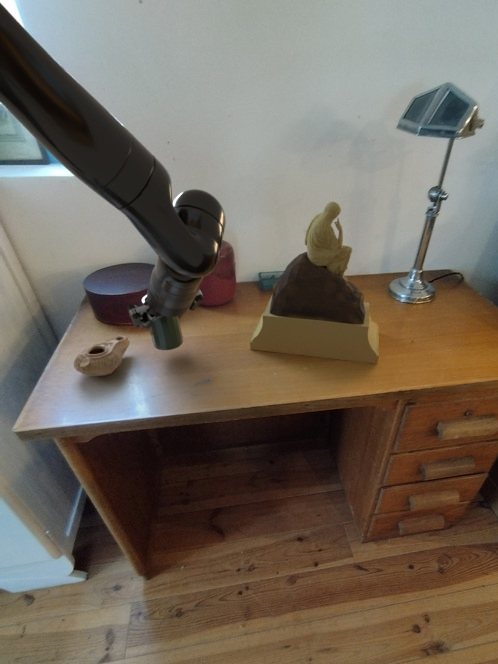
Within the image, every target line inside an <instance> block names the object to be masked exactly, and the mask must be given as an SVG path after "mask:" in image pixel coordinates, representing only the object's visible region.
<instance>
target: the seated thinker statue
mask: <svg viewBox="0 0 498 664" xmlns="http://www.w3.org/2000/svg"><path fill="white" fill-rule="evenodd" d="M341 211H342V208H341V206H340V204H339V203H338V202H336V201H331V202H328V203H327V204H326V205H325V206H324V208H323V211H322V212H319V213H318V214H316V215H313V217H312V219H311V220H310V222H309V224H308V226H307V229H306V232H305V236H304V246H306V251H305V252H302V253H299V254H298V255H297V256H296V257H294V258H292V260H291V261H290V262H289V263H288V264H287V265H286V267H285V269H284V271H283V272H282V274H281V275H280V276H279V277H278V278H277V279H276V280H275V281H274V282H273V284H272V293H271V297H270V299H269V301H268V303H267V305H266V307H265V310H264V311H263V313H262V314H261V316H260V318H259V321H258V323H257V325H256V327H255V330H254V332H253V333H252V336H251V338H250V340H249V349H250V350H251V351H253V350H254V351H260V352H271V353H279V354H288V355H296V356H306V357H314V358H322V359H330V360H339V361H340V360H341V361H349V362H356V363H357V362H358V363H367V364H376V365H378V362H379V357H380V333H379V332H380V329H379V328H380V326H379V325H380V324H377V323H376V322H375V321H373V320H372V318H371V316H370V303H371V302H369V301H368V302H367V301H364V300H365V295H364V293H363V291H362V290H361V289H360V288H359V287H358V285H357V286H356V285H355V284H354V283H353V282H352V281H350V279H349V278H348V277H347V276H346V275H345V273H346V271H347V270H348V266H349V263H350V259H351V257H352V253H353V247H351V246H350V245H343V242H344V233H343V227H342V225H341V222H340V220H339V219H340V218H339V217H338V216H339V215H340V214H341ZM336 218H337V221H335V222H334V220H335V219H336ZM332 223H333V224H334V225H335V227H336V229H337V230H338V235H337V236H336V233H335V230H334V229H335V228H333V226H332Z"/></svg>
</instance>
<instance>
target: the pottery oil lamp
mask: <svg viewBox="0 0 498 664" xmlns="http://www.w3.org/2000/svg"><path fill="white" fill-rule="evenodd" d="M130 342H131V341H130V340H129V338H128V337H127V335H117V336H114V337H112V338H110V339H107V340H105V341H102V342H99V343H95V344H93V345H91V346H90V347H87V348H85V349H83V350H82V351H80V353H78V355H77V356H76V357H75V359H74V361H73V368H74V369H75V371H77V372H79V373H80V374H83V375H85V376H95V377H105V376H109V375H111V374H112V373H114V372H115V371H116V369H118V367H119V366H121V364H122V362H123V357H124V355H125V353H126V351H127V350H128V348H129V347H130V344H131V343H130Z"/></svg>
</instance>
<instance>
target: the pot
mask: <svg viewBox="0 0 498 664" xmlns="http://www.w3.org/2000/svg"><path fill="white" fill-rule="evenodd" d="M146 300H147V294H145V295H144V296H143V297H142V298H141V304H142V306H143V305H144V302H145V301H146ZM146 315H147V314H146ZM155 316H156V315H155ZM181 327H182V326H181V323H180V319H179V318H178V316H177V317H168V316H164V317H162V318H161V319H159V320H158V321H157V322H151V323H150V327H149V329H148V330H149V333H150V338H151V341H152V344H153V347H154V348H155V349H157V350H159V351H171V350H175V349H177V348H179V347H181V346H182V345H183V343H184V338H183V333H182V328H181Z"/></svg>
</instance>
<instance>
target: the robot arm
mask: <svg viewBox="0 0 498 664" xmlns="http://www.w3.org/2000/svg"><path fill="white" fill-rule="evenodd" d="M0 104H1V105H2V106H3V107H4V108H5V109H6V110H7V111H8V112H9V113H10V114H11V115H12V116H13V117H14V118H15V119H16V120H17V121H18V122H19V123H20V124H21V125H22V126H23V127H24V128H25V129H26V130H27V131H28V132H29V134H30V135H32V137H33V138H35V139H36V140H37V142H39V144H40V145H41V146H42V147H43V148H44V149H45V150H46V151H47V152H48V153H49V154H50V155H51V156H52V157H53V158H55V159H56V161H58V163H60V165H62V166H63V167H64V168H65V169H66V170H67V171H69V172H70V173H71V174H72V175H73V176H74V177H75V178H77V179H78V180H79V181H80V182H82V183H83V184H84V185H86V186H87V187H88V188H89V189H90V190H92V191H93V192H94V193H95V194H97V195H98V196H99V197H101V198H102V199H103V200H104V201H106V202H107V203H108V204H110V205H111V206H112V207H114V208H115V209H116V210H118V211H119V212H120V213H121V214H123V215H124V216H125V217H126V218H127V220H129V222H130V224H131V225H132V226H133V227H134V228H135V230H136V231H137V233H139V234H140V235H141V236H142V238H143V239H144V240H145V241H146V243H147V244H148V245H149V247H150V248H151V249H152V250H153V252H155V254H156V255H157V258H156V263H155V265H154V267H153V268H152V271H151V275H150V279H149V283H148V287H147V290H146V295H147V300H146V301H145V302H144V305H143V304H142V305H140V306H138V305H135V304H134V303H133V304H132V303H131V304H129V305H127V312H128V316H129V318H130V320H131V322H132V324H133V326H134V328H141V329H144V330H145V331H148V330H149V327H150V323H151V322H157V321H158V320H159V319H161V318H162V317H164V316H168V317H177V316H178V318H179V320H181V318H182V317H183V316H184V315H185V314H187V313H188V311H195V310H196V309H197V308H198V307H199V305H201V303H202V302H203V300H204V299H205V297H204V295H203V293H202V291H201V289H200V286H201V285H202V283H203V281H204V279H205V277H208V275H211V273H213V272H214V271H215V269H216V266H217V264H218V261H219V257H220V252H221V248H222V243H223V239H224V236H225V235H224V234H225V230H226V224H227V219H226V214H225V210H224V208H223V205H222V204H221V202H220V201H219V200H218V198H216V197H215V196H214V195H213V194H211V193H209V192H208V191H205V190H203V189H197V188H193V189H192V188H191V189H187V190H184V191H182V192H180V193H179V194H178V195H177V196H176V197H175V198H174V200H173V185H172V183H173V182H172V178H171V175H170V173H169V171H168V169H167V168H166V166H164V164H163V163H162V162H161V161H160V160H159V159H158V158H157V157H156V156H155V155H154V154H153V153H152V152H151V151H150V150H149V149H148V148H147V147H146V146H145V145H144V144H143V143H142V142H141V141H140V140H139V139H138V138H137V137H136V136H135V135H134V134H133V133H132V132H131V131H129V129H127V128H126V127H125V125H124V124H122V122H120V121H119V120H118V119H117V118H116V117H115V116H114V115H113V114H112V113H111V112H110V111H109V110H108V109H107V108H106V107H105V106H104V105H103V104H101V103H100V101H98V99H96V97H94V96H93V95H92V94H91V93H90V92H89V90H87V89H86V88H85V87H84V86H83V85H82V84H81V83H80V82H78V80H76V79H75V78H74V76H72V74H70V73H69V72H68V71H67V70H66V69H65V68H64V67H63V66H62V65H61V64H60V63H59V62H58V61H57V60H56V59H55V58H54V57H53V56H52V55H51V54H50V53H49V52H48V51H47V50H46V49H45V48H44V47H43V46H42V45H41V43H39V42H38V41H37V40H36V39H35V38H34V37H33V36H32V35H31V33H30V32H28V31H27V29H25V27H24V26H22V24H21V23H20V22H19V21H18V20H17V19H16V18H15V17H14V15H12V13H10V11H9V10H8V9H7V8H6V7H5V6H4V5H3V4H2V3H1V2H0ZM146 314H147V315H146ZM155 315H156V316H155Z"/></svg>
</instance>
